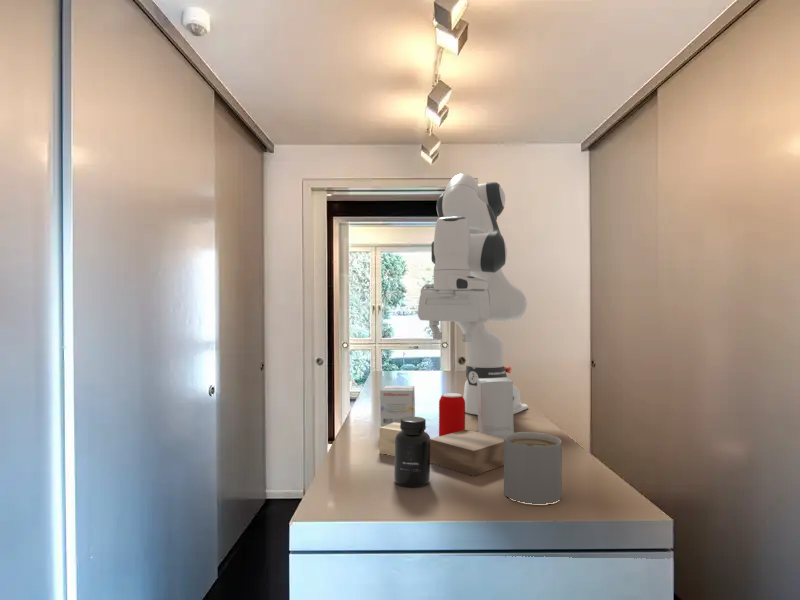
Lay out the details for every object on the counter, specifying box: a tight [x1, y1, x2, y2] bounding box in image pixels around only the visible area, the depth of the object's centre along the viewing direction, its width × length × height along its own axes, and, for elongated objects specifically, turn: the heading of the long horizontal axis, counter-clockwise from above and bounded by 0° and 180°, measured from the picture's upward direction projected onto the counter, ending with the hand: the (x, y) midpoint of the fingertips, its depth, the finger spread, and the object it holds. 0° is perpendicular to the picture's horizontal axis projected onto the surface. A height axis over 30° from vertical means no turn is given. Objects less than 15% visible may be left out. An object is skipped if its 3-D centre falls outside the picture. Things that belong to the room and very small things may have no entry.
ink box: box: [379, 385, 416, 427], centre depth 138 cm, size 9×9×12 cm
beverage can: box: [438, 392, 466, 437], centre depth 125 cm, size 6×6×12 cm
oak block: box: [379, 422, 401, 457], centre depth 119 cm, size 6×6×6 cm
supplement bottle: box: [393, 416, 431, 488], centre depth 100 cm, size 7×7×12 cm
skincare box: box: [477, 376, 515, 438], centre depth 132 cm, size 8×6×15 cm
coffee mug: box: [503, 431, 563, 504], centre depth 95 cm, size 13×10×10 cm
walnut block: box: [430, 429, 504, 477], centre depth 111 cm, size 12×12×5 cm
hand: (451, 340), depth 125 cm, fingers open, 8 cm apart
